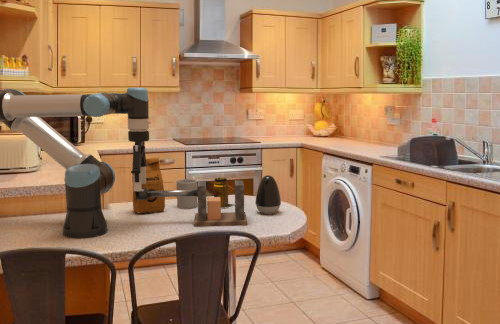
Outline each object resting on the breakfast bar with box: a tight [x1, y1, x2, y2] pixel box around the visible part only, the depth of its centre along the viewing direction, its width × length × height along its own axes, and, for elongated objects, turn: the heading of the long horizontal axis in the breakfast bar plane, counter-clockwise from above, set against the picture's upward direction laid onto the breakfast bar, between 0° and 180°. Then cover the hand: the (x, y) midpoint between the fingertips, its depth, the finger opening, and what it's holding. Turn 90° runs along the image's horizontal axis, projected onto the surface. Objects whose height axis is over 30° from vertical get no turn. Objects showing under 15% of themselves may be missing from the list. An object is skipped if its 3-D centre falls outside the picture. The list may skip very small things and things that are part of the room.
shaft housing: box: [193, 180, 248, 228], centre depth 205 cm, size 20×14×14 cm
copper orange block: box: [213, 177, 235, 209], centre depth 230 cm, size 7×8×12 cm
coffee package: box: [131, 157, 166, 214], centre depth 220 cm, size 10×12×22 cm
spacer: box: [206, 196, 222, 220], centre depth 205 cm, size 5×7×7 cm
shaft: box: [136, 188, 198, 200], centre depth 203 cm, size 24×4×4 cm, turn 94°
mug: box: [176, 178, 198, 210], centre depth 231 cm, size 12×8×11 cm
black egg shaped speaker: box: [254, 175, 282, 215], centre depth 217 cm, size 10×10×15 cm
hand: (140, 187), depth 202 cm, fingers open, 13 cm apart
